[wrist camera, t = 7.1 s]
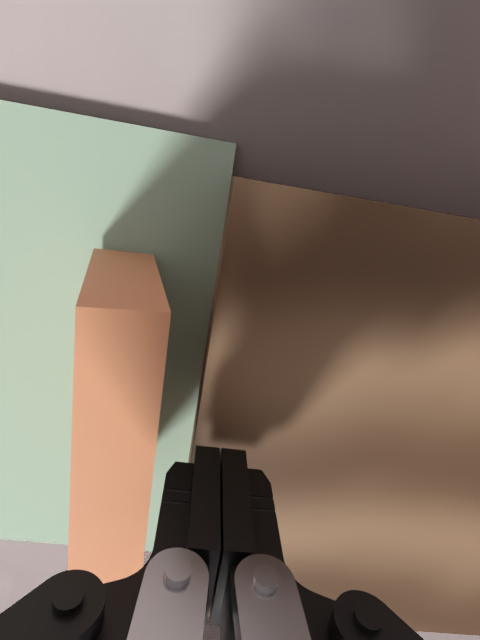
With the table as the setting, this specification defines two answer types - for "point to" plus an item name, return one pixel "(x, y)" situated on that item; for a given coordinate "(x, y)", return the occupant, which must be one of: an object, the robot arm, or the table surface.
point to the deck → (354, 391)
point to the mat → (68, 275)
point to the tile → (115, 411)
